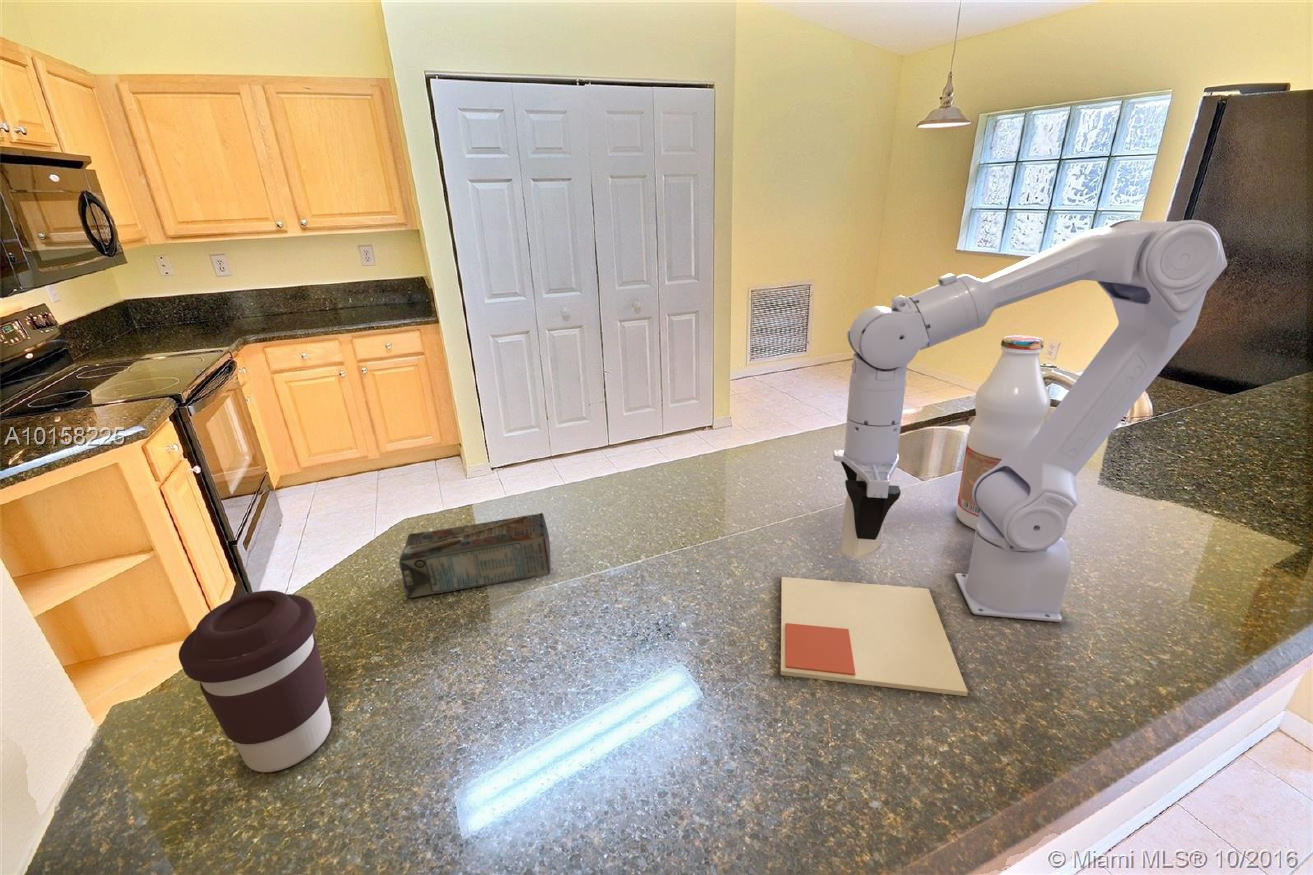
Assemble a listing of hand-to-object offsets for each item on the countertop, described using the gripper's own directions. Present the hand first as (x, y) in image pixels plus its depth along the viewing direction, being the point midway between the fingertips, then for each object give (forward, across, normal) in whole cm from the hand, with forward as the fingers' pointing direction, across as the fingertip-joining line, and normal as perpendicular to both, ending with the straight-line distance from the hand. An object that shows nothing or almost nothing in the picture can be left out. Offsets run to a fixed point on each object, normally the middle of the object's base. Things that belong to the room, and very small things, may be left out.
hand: (863, 525), depth 69 cm
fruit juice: (+10, -22, +22) cm, 32 cm away
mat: (+10, +7, 0) cm, 12 cm away
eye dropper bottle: (+4, 0, 0) cm, 4 cm away
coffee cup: (+10, +32, -55) cm, 64 cm away
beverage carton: (+10, +3, -50) cm, 51 cm away
